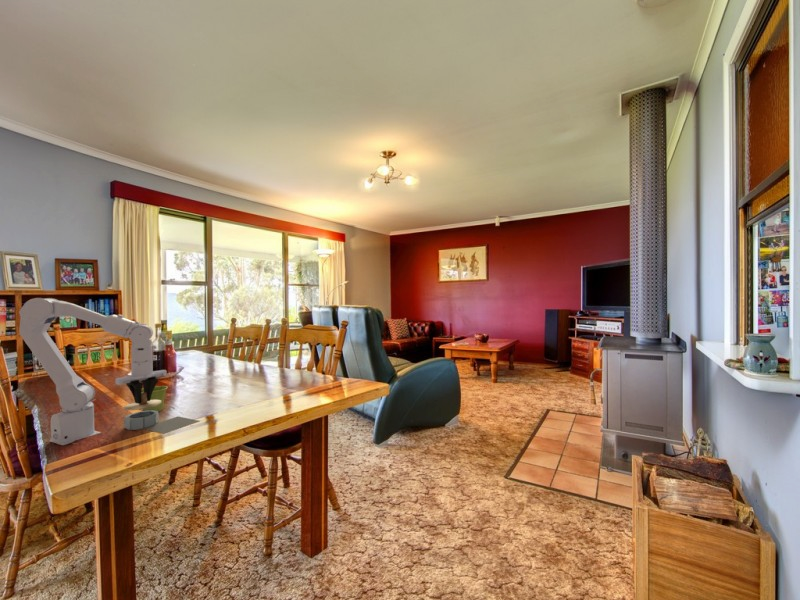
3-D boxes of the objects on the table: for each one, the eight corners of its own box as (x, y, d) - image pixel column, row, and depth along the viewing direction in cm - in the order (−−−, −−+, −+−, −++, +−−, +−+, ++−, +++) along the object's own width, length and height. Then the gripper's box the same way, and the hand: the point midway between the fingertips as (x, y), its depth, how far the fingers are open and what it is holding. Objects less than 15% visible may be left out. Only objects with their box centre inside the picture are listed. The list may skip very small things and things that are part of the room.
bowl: (135, 433, 110) (135, 420, 110) (119, 429, 114) (119, 417, 114) (163, 424, 118) (163, 412, 118) (148, 420, 122) (147, 409, 122)
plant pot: (132, 413, 129) (132, 390, 129) (159, 406, 138) (159, 384, 138) (146, 417, 125) (145, 393, 125) (173, 409, 133) (173, 387, 133)
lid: (137, 411, 109) (136, 398, 109) (116, 409, 113) (116, 396, 113) (168, 402, 119) (168, 390, 119) (148, 400, 122) (148, 388, 122)
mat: (163, 435, 108) (163, 433, 108) (140, 430, 113) (140, 428, 113) (200, 422, 119) (200, 420, 119) (177, 418, 124) (177, 416, 124)
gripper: (124, 365, 107) (124, 409, 108) (171, 358, 121) (172, 397, 121) (111, 364, 110) (112, 406, 111) (159, 356, 124) (160, 395, 124)
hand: (142, 401), depth 116 cm, fingers closed on lid, 2 cm apart
